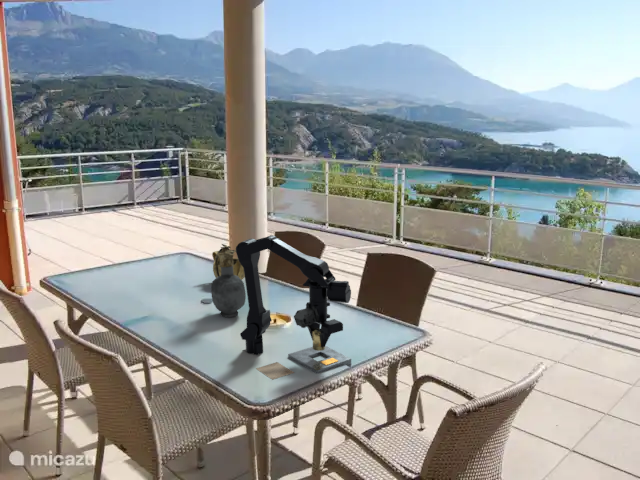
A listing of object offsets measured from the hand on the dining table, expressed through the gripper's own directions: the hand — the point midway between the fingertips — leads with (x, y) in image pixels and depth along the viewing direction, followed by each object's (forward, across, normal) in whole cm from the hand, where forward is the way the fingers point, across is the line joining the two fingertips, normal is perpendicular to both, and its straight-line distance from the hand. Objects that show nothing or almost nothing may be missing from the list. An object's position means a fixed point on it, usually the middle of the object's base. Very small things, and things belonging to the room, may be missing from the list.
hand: (318, 345), depth 178 cm
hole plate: (+6, 0, 0) cm, 6 cm away
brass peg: (+1, 0, 0) cm, 1 cm away
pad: (+6, -2, -16) cm, 17 cm away
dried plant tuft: (+6, -104, +22) cm, 106 cm away
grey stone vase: (+6, -63, -1) cm, 63 cm away
